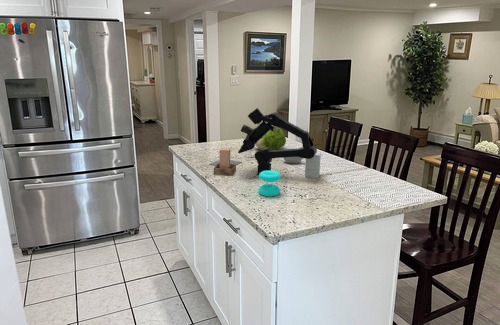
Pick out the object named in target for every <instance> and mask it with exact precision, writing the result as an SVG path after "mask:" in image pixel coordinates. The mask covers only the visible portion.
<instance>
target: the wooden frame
mask: <svg viewBox="0 0 500 325" xmlns="http://www.w3.org/2000/svg"><path fill="white" fill-rule="evenodd" d="M236 171H237V165H236V164H230V169H222V168H220V163H217V165H216V166H214V167H213V175H214V174H216V175H215V176H228V177H229V176H234V174H235V173H236Z"/></svg>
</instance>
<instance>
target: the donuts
mask: <svg viewBox="0 0 500 325" xmlns="http://www.w3.org/2000/svg"><path fill="white" fill-rule="evenodd" d="M281 177H282V176H281V173H280V172H278V171H276V170H272V169H271V170H268V171H262V172H261V173H260V174H259V175H258V179H260V181H262V182H265V183H268V184H262V185H261V186H259V188H258V193H259V194H260V195H262V196H265V197H276V196H278V195H279V194H280V193H281V188H280V186H277V185H276V184H269V183H275V182H278V181H279V180H281Z"/></svg>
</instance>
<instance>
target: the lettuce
mask: <svg viewBox="0 0 500 325" xmlns="http://www.w3.org/2000/svg"><path fill="white" fill-rule="evenodd" d="M286 142H287V138H286V134H285V132H284V131H283V130H282V128H280V127H276V126H275V127H274V131H273V132H272V131H271V130H269V131H268V132H267V133H266V134H265V135H264V136H263V137H262V138H261V139H260V140H259V141H258V142H257V143H256V144H255V147H256V148H258V149H259V150H260V149H261V148H263V147H264V148H267V147H270V150H279V149H280V148H282V147H285V145H286Z"/></svg>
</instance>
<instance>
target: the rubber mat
mask: <svg viewBox="0 0 500 325" xmlns="http://www.w3.org/2000/svg"><path fill="white" fill-rule="evenodd" d="M217 163H220V159H218V160H216V161H213V162H211V163H209V165H210V166H214V167H215V166H216V165H217ZM230 164H236V166H237V165H240V164H243V161H237V160H232V159H230Z"/></svg>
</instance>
